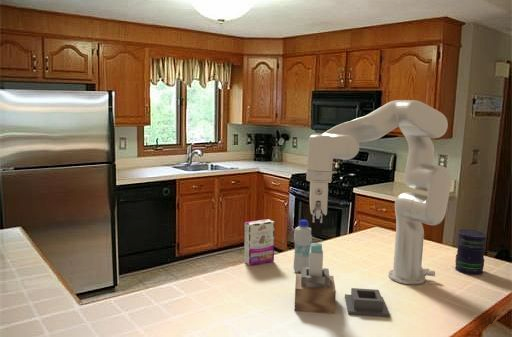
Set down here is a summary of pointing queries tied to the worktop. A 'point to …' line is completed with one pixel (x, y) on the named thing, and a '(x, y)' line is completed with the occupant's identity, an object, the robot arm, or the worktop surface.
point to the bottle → (302, 245)
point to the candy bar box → (259, 242)
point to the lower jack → (366, 303)
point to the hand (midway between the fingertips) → (316, 231)
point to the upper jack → (315, 292)
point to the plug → (316, 259)
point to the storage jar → (470, 252)
